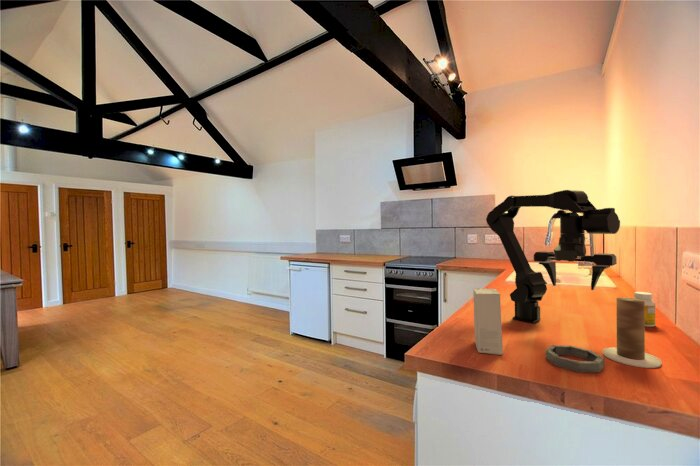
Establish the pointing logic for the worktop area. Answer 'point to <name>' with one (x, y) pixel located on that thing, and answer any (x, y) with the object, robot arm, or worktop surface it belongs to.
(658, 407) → the worktop surface
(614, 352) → the cream disc
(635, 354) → the walnut peg
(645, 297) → the supplement bottle
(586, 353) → the steel ring
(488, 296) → the skincare box
